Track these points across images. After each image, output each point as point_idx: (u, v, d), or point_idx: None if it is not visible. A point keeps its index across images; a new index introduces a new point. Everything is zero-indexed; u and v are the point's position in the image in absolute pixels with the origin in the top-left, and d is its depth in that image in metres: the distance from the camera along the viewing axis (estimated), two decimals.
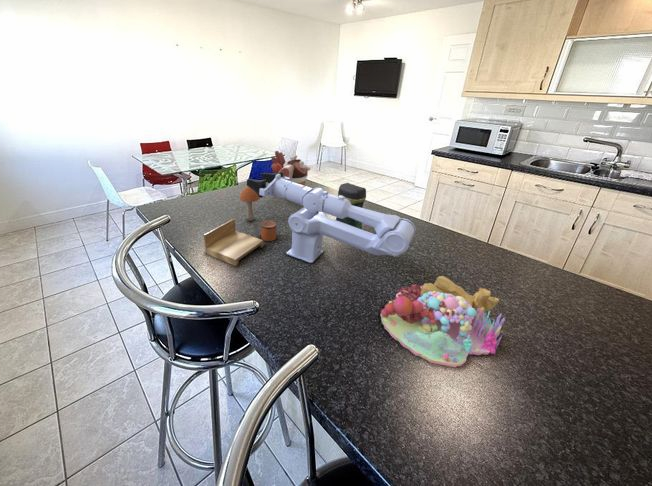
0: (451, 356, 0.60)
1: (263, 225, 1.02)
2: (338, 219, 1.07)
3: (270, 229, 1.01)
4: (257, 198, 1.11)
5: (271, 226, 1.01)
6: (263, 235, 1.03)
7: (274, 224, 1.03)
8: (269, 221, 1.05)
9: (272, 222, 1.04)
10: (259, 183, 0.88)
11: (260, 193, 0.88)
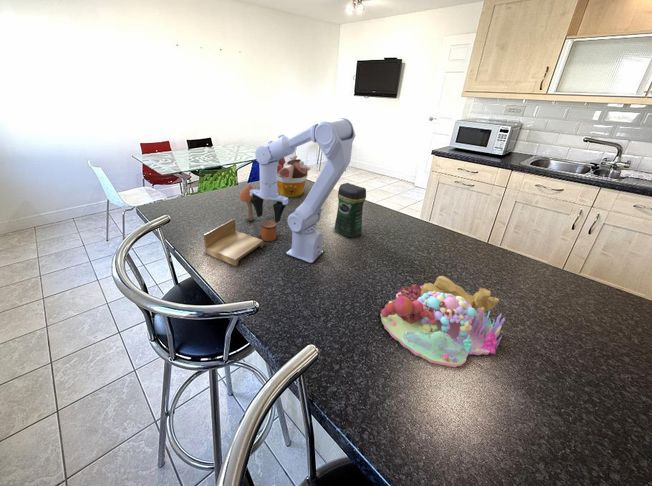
0: (451, 356, 0.60)
1: (263, 225, 1.02)
2: (338, 219, 1.07)
3: (270, 229, 1.01)
4: None
5: (271, 226, 1.01)
6: (263, 235, 1.03)
7: (274, 224, 1.03)
8: (269, 221, 1.05)
9: (272, 222, 1.04)
10: None
11: None
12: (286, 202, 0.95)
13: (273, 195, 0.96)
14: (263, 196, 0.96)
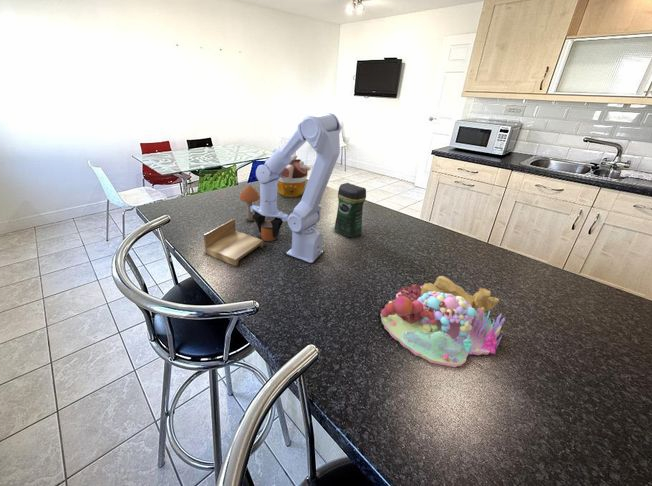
0: (451, 356, 0.60)
1: (263, 225, 1.02)
2: (338, 219, 1.07)
3: (270, 229, 1.01)
4: (257, 198, 1.11)
5: (271, 226, 1.01)
6: (263, 235, 1.03)
7: None
8: (269, 221, 1.05)
9: None
10: None
11: None
12: (286, 219, 0.98)
13: (273, 212, 0.99)
14: (263, 213, 0.99)
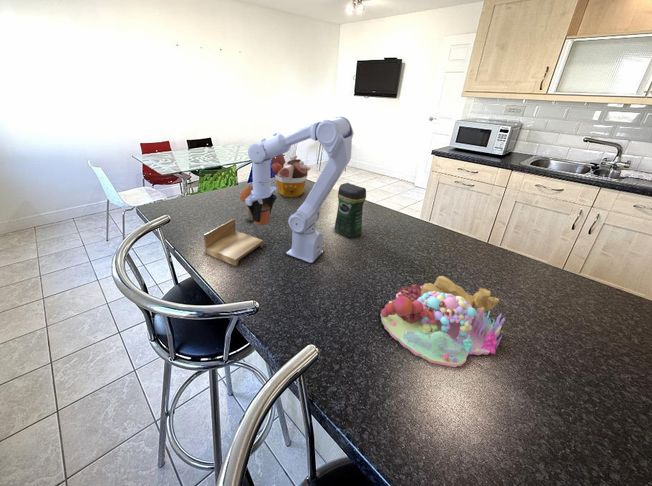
0: (451, 356, 0.60)
1: (265, 209, 0.97)
2: (338, 219, 1.07)
3: None
4: None
5: (267, 205, 1.00)
6: (267, 218, 0.99)
7: (263, 204, 1.01)
8: None
9: None
10: (247, 204, 0.95)
11: (248, 204, 0.92)
12: None
13: None
14: (269, 194, 0.95)
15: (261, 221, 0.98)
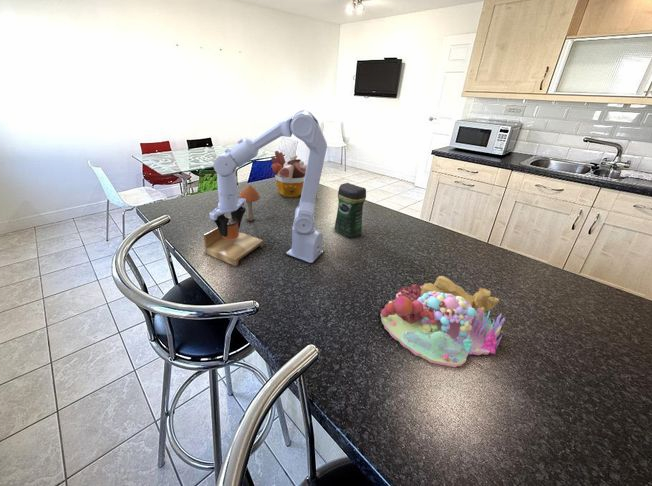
0: (451, 356, 0.60)
1: (232, 223, 0.92)
2: (338, 219, 1.07)
3: (238, 221, 0.95)
4: (257, 198, 1.11)
5: (236, 219, 0.95)
6: (235, 233, 0.94)
7: (231, 217, 0.96)
8: None
9: None
10: None
11: (213, 218, 0.86)
12: None
13: None
14: (235, 207, 0.90)
15: (228, 235, 0.93)
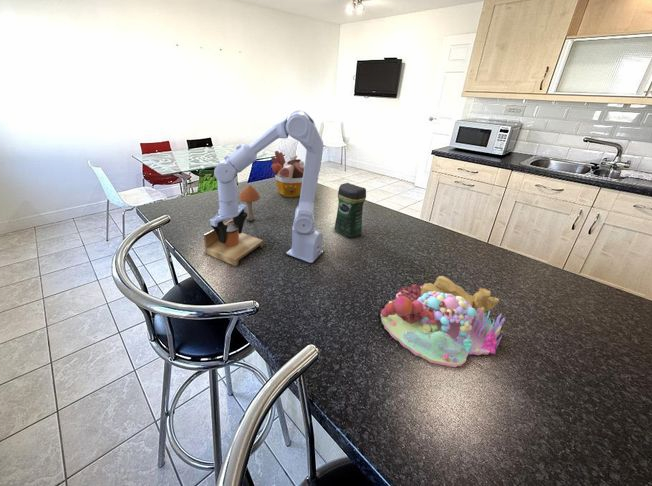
0: (451, 356, 0.60)
1: (233, 230, 0.93)
2: (338, 219, 1.07)
3: (238, 228, 0.96)
4: (257, 198, 1.11)
5: (236, 226, 0.96)
6: (235, 239, 0.95)
7: (232, 224, 0.97)
8: None
9: None
10: (211, 225, 0.90)
11: (213, 224, 0.87)
12: None
13: None
14: (236, 213, 0.91)
15: (229, 242, 0.94)
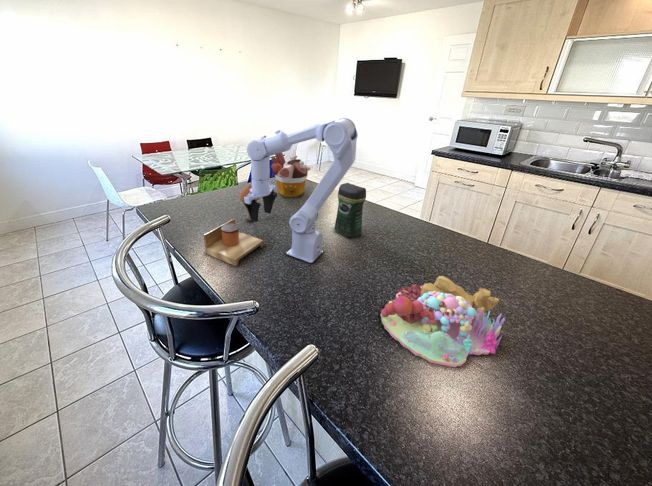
0: (451, 356, 0.60)
1: (233, 230, 0.93)
2: (338, 219, 1.07)
3: (238, 228, 0.96)
4: None
5: (236, 226, 0.96)
6: (235, 239, 0.95)
7: (232, 224, 0.97)
8: (224, 227, 0.95)
9: (227, 225, 0.96)
10: (244, 204, 0.92)
11: (247, 202, 0.89)
12: None
13: None
14: (268, 192, 0.93)
15: (229, 242, 0.94)
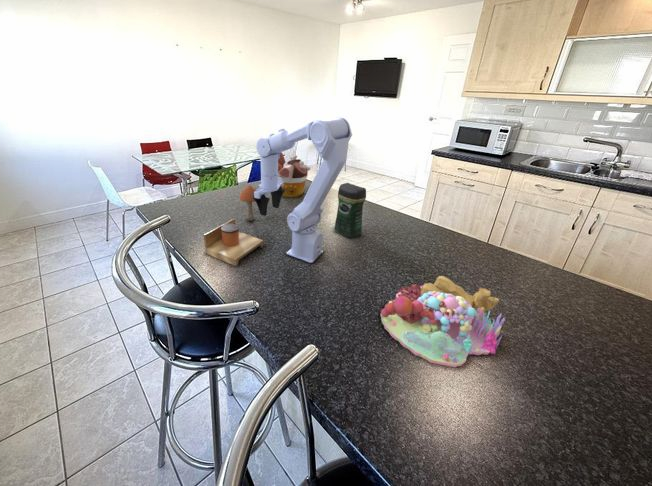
0: (451, 356, 0.60)
1: (233, 230, 0.93)
2: (338, 219, 1.07)
3: (238, 228, 0.96)
4: None
5: (236, 226, 0.96)
6: (235, 239, 0.95)
7: (232, 224, 0.97)
8: (224, 227, 0.95)
9: (227, 225, 0.96)
10: (254, 198, 0.97)
11: (257, 197, 0.94)
12: None
13: None
14: (276, 187, 0.98)
15: (229, 242, 0.94)
